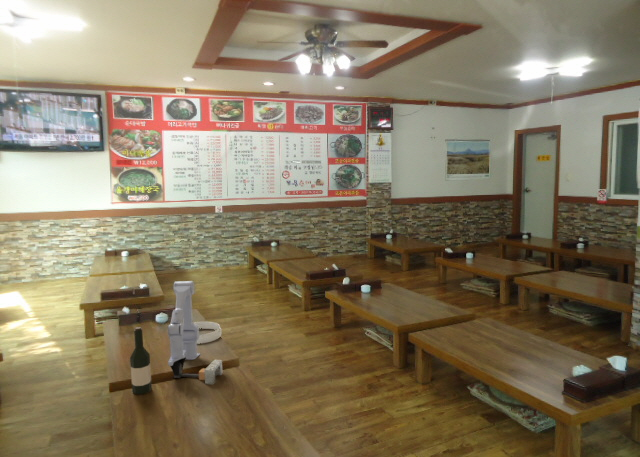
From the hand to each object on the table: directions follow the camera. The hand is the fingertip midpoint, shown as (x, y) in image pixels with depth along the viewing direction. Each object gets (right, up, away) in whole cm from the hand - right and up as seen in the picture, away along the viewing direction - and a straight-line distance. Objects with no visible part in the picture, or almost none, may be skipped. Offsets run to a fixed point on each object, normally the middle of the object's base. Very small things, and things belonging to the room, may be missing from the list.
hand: (178, 373), depth 222 cm
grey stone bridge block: (+18, -1, -3) cm, 19 cm away
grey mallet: (+8, -1, -1) cm, 8 cm away
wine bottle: (-12, -3, -14) cm, 19 cm away
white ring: (-5, +5, +57) cm, 58 cm away
